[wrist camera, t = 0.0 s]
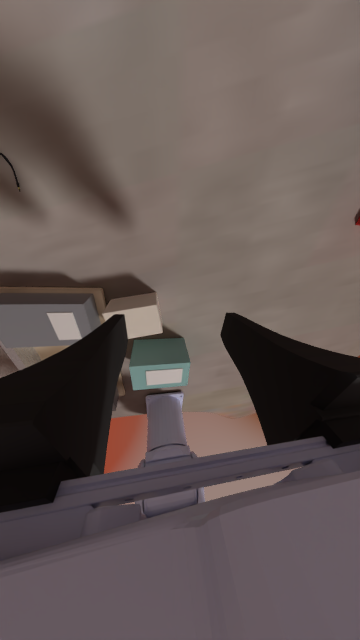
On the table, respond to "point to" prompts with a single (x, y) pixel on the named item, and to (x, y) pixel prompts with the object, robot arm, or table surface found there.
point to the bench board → (97, 292)
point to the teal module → (159, 363)
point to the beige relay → (137, 314)
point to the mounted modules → (47, 320)
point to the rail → (22, 356)
